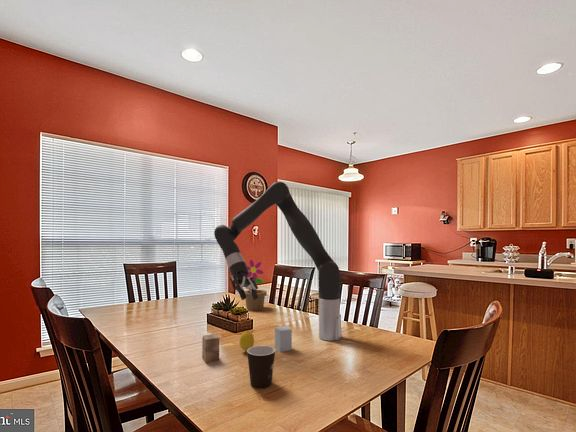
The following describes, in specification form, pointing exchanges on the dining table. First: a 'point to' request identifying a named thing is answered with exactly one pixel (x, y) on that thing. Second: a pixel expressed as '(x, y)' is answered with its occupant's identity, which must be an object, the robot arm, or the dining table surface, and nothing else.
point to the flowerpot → (259, 303)
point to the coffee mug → (261, 365)
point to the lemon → (246, 340)
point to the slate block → (283, 338)
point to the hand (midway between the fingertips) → (250, 299)
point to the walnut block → (210, 348)
